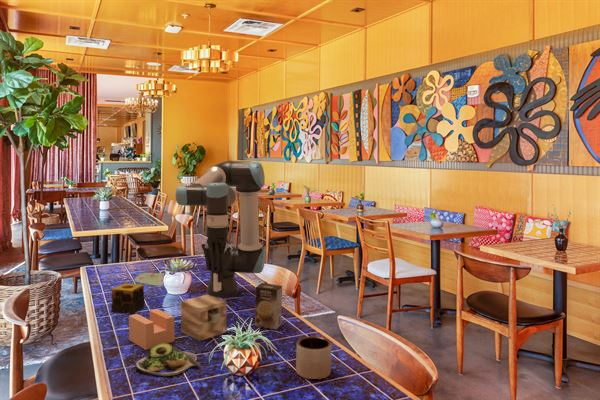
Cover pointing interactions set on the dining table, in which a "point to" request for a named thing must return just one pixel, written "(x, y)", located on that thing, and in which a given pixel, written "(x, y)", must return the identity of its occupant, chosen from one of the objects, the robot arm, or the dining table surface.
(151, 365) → the salad plate
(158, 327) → the cradle
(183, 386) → the dining table surface
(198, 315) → the brown notched block
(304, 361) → the planter
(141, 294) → the dark brown holed cube
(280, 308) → the coffee box
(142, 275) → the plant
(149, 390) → the dining table surface
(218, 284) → the robot arm
